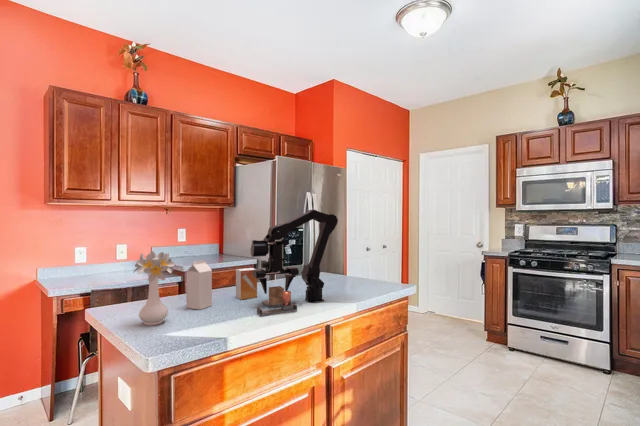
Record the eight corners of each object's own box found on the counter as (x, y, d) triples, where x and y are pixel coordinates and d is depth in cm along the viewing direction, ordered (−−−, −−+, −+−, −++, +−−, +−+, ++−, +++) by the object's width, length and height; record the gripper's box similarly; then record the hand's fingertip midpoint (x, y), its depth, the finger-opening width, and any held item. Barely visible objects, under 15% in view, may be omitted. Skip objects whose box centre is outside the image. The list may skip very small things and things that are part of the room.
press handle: (289, 306, 144) (289, 290, 144) (293, 308, 140) (293, 292, 140) (280, 307, 142) (280, 291, 142) (283, 310, 138) (283, 293, 138)
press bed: (281, 301, 158) (281, 298, 158) (290, 306, 149) (290, 303, 149) (262, 303, 154) (262, 300, 154) (269, 308, 145) (269, 305, 145)
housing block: (279, 299, 155) (279, 285, 155) (284, 302, 151) (284, 287, 151) (268, 301, 153) (268, 286, 153) (272, 303, 148) (272, 289, 148)
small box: (240, 300, 160) (240, 270, 160) (235, 297, 166) (235, 269, 166) (257, 297, 165) (257, 269, 165) (252, 295, 170) (252, 267, 170)
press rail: (293, 309, 144) (293, 303, 144) (297, 311, 141) (297, 305, 141) (256, 314, 138) (256, 307, 138) (260, 316, 134) (260, 310, 134)
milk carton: (212, 306, 150) (211, 260, 150) (199, 310, 143) (199, 262, 143) (198, 304, 153) (198, 259, 153) (186, 308, 146) (186, 261, 146)
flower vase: (142, 333, 115) (142, 255, 115) (128, 320, 129) (128, 251, 129) (183, 325, 124) (183, 252, 124) (166, 314, 138) (166, 248, 138)
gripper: (289, 252, 163) (289, 287, 163) (248, 254, 155) (249, 291, 155) (299, 255, 153) (299, 291, 153) (256, 257, 145) (256, 296, 145)
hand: (275, 292), depth 152 cm, fingers open, 9 cm apart
